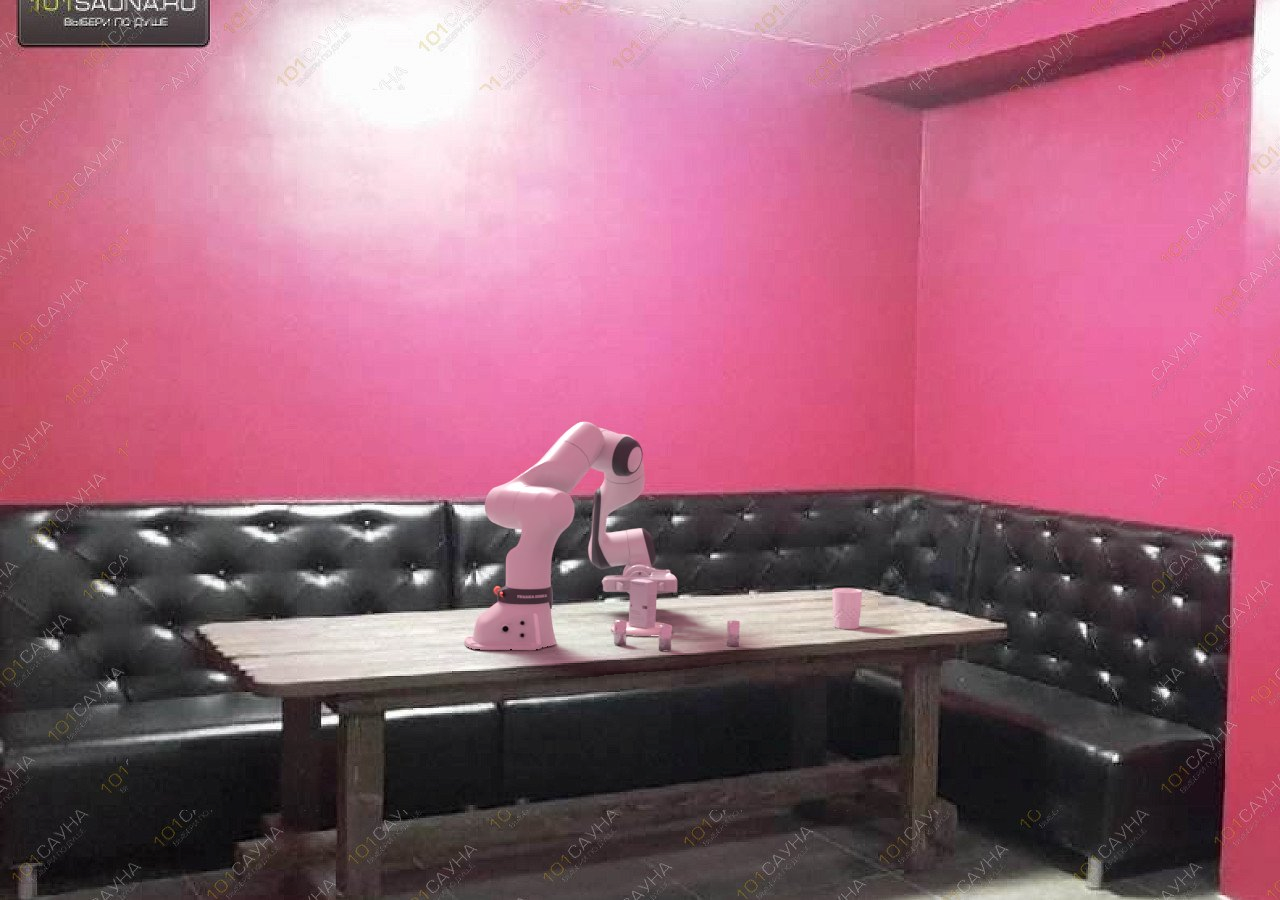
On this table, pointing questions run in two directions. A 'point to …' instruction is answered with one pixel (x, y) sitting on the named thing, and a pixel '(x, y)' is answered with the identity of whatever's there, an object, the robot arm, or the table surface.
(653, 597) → the skincare box
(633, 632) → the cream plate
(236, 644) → the table surface
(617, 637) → the posts
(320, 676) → the table surface
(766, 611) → the table surface
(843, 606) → the pink cup
